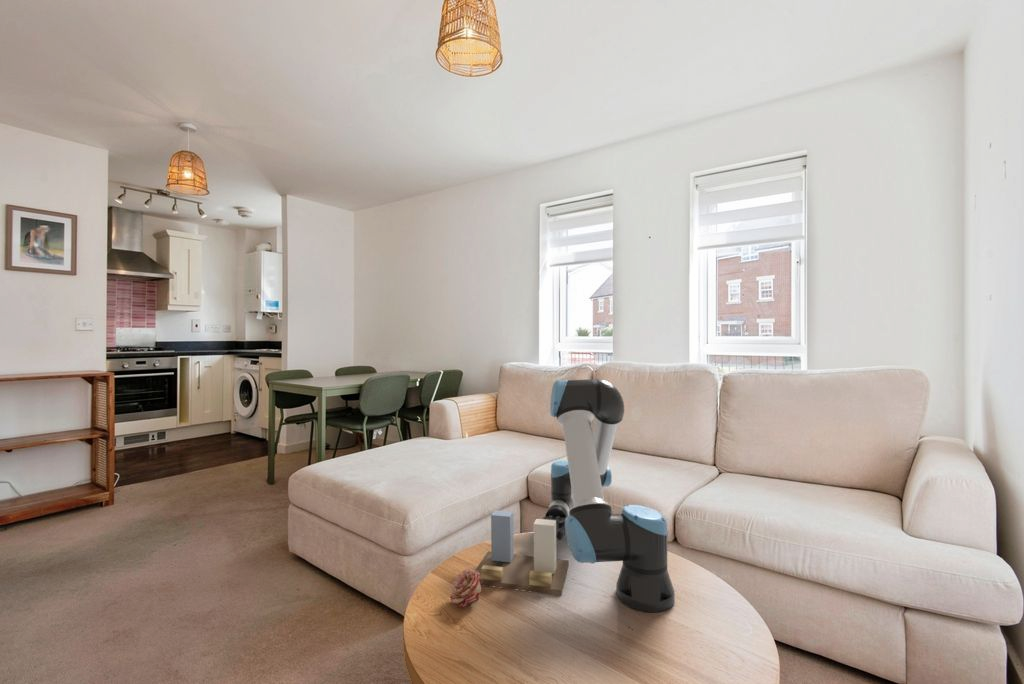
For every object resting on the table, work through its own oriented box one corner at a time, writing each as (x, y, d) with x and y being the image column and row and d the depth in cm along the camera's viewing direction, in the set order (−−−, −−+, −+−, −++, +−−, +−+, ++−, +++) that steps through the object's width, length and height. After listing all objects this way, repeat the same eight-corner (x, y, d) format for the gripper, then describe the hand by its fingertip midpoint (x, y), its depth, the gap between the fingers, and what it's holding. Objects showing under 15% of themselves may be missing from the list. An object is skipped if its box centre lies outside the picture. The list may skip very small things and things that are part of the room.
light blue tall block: (513, 556, 143) (513, 511, 142) (510, 562, 139) (510, 516, 138) (495, 553, 144) (494, 509, 144) (491, 560, 140) (491, 515, 140)
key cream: (556, 566, 136) (556, 520, 136) (554, 574, 132) (554, 525, 131) (536, 564, 137) (536, 518, 137) (534, 571, 133) (533, 523, 133)
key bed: (568, 565, 140) (568, 550, 140) (561, 595, 124) (561, 579, 124) (487, 555, 147) (487, 542, 146) (470, 584, 130) (470, 568, 130)
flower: (478, 581, 128) (462, 562, 126) (498, 587, 121) (481, 567, 119) (457, 613, 123) (439, 593, 121) (476, 622, 116) (458, 601, 114)
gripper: (576, 527, 158) (567, 560, 135) (539, 524, 161) (524, 555, 138) (576, 505, 158) (567, 535, 135) (538, 502, 161) (524, 530, 138)
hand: (545, 545), depth 136 cm, fingers closed
